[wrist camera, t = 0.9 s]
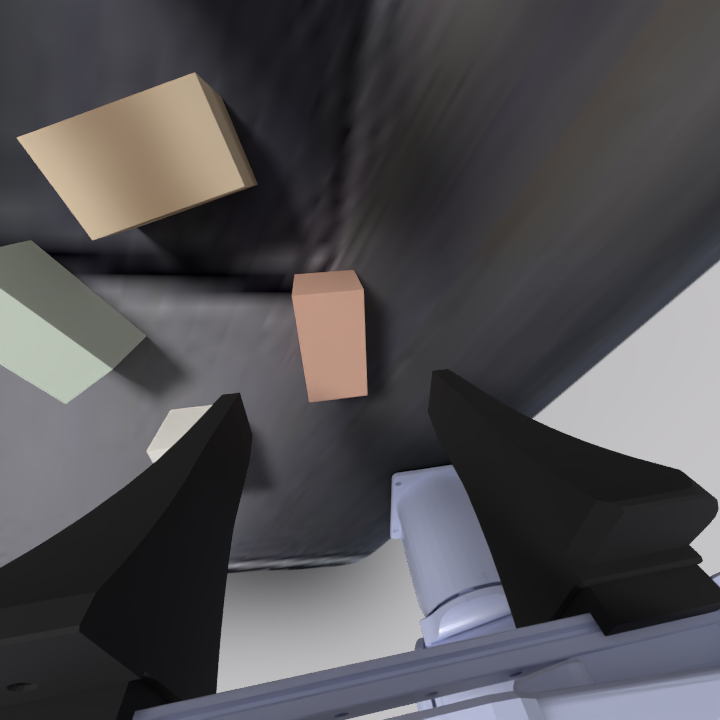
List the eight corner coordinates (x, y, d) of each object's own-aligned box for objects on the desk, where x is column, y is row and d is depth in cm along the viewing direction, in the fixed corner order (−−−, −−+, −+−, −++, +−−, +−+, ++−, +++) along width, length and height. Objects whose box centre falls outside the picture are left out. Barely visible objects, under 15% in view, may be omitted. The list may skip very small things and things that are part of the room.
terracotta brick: (358, 361, 20) (367, 395, 17) (308, 367, 20) (309, 402, 16) (353, 269, 17) (363, 289, 14) (294, 273, 16) (292, 295, 13)
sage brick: (147, 334, 17) (112, 369, 14) (107, 364, 18) (65, 404, 14) (33, 239, 14) (-44, 256, 11) (-11, 279, 14) (-96, 305, 11)
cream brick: (244, 464, 23) (235, 507, 20) (200, 470, 23) (184, 516, 20) (222, 402, 20) (207, 443, 17) (171, 408, 20) (146, 451, 17)
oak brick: (222, 98, 12) (194, 72, 9) (258, 184, 14) (245, 186, 11) (86, 147, 13) (16, 137, 10) (138, 227, 14) (92, 240, 11)
